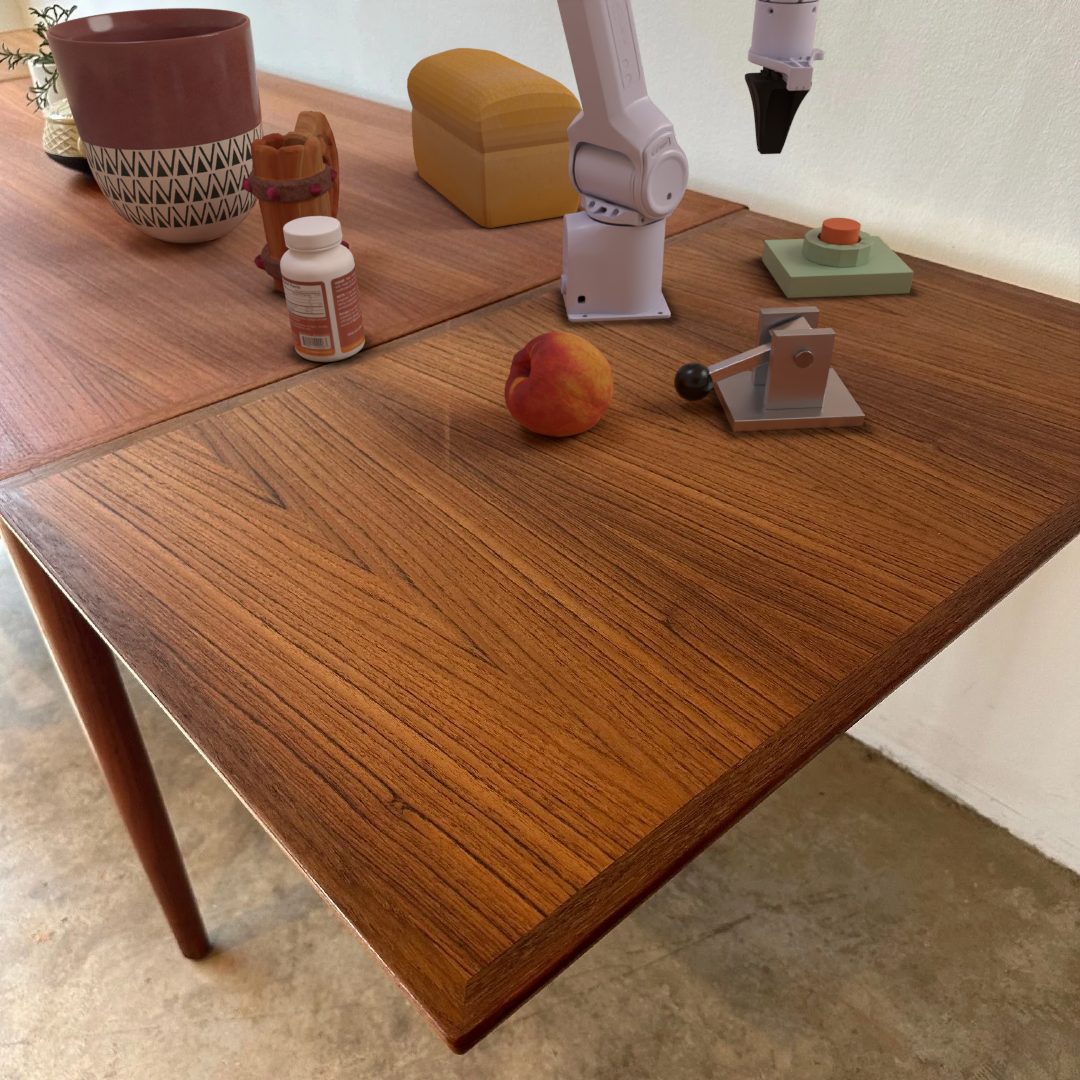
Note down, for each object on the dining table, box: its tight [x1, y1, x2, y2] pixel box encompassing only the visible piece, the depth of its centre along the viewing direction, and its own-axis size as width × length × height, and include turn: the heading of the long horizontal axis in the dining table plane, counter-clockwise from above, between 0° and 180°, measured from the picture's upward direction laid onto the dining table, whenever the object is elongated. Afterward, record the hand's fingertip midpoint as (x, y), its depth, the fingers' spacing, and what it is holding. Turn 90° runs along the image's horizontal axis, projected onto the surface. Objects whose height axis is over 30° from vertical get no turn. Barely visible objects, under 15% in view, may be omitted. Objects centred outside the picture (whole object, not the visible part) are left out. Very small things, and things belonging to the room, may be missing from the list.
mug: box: [242, 110, 350, 294], centre depth 98 cm, size 15×8×15 cm, turn 168°
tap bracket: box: [712, 305, 866, 433], centre depth 77 cm, size 10×8×7 cm
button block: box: [761, 226, 915, 299], centre depth 100 cm, size 12×10×4 cm
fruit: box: [503, 331, 614, 438], centre depth 75 cm, size 8×8×8 cm
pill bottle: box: [280, 216, 366, 363], centre depth 86 cm, size 6×6×11 cm
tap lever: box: [673, 317, 812, 402], centre depth 77 cm, size 11×3×3 cm, turn 94°
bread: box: [406, 47, 583, 229], centre depth 120 cm, size 24×13×15 cm, turn 24°
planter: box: [45, 7, 265, 244], centre depth 107 cm, size 20×20×21 cm
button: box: [820, 217, 862, 245], centre depth 98 cm, size 4×4×2 cm
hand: (769, 152), depth 100 cm, fingers closed
